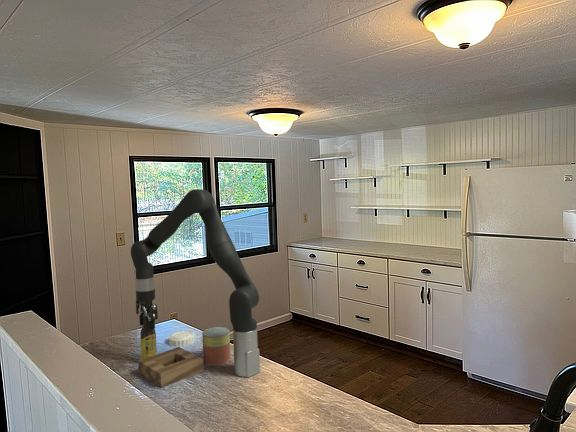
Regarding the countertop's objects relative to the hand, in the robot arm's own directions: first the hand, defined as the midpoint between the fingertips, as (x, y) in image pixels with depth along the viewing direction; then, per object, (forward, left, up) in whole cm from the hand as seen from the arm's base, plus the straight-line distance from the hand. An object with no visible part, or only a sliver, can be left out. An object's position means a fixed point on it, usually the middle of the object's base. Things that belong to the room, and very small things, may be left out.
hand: (147, 327), depth 177 cm
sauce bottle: (0, 0, -15) cm, 15 cm away
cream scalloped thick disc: (+9, -21, -15) cm, 27 cm away
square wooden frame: (-16, -1, -15) cm, 22 cm away
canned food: (-20, -20, -15) cm, 32 cm away
